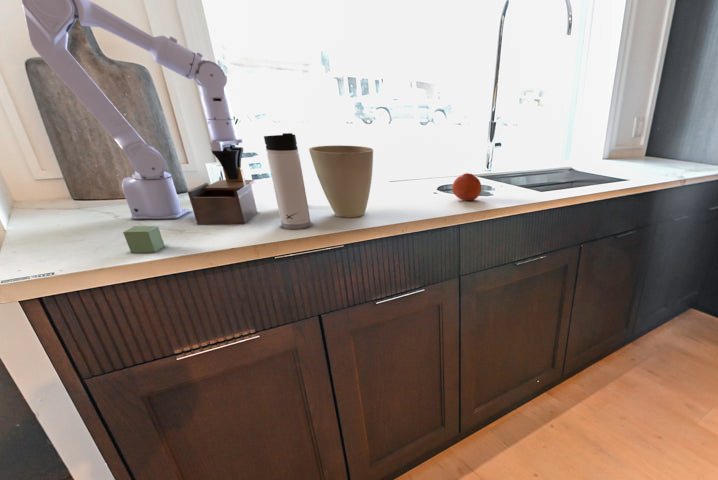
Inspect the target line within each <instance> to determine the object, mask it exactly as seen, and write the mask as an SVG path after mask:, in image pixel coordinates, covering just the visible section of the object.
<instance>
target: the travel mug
mask: <svg viewBox="0 0 718 480" xmlns="http://www.w3.org/2000/svg"><path fill="white" fill-rule="evenodd" d="M263 139H264V144H265V150H266V152H267V153H266V156H267V160H268V165H269V169H270V175H271V179H272V184H273V189H274V194H275V199H276V203H277V208H278V213H279V218H280V223H281V226H282V228H284V229H287V230H300V229H301V230H303V229H308V228H309V227H311V225H312V222H311V217H310V216H311V215H310V209H309V204H308V198H307V192H306V187H305V181H304V175H303V170H302V163H301V157H300V153H299V147H298V145H297V144H298V143H297V135H296V134H293V133H292V132H286V133H285V132H284V133H282V134H276V135H273V134H272V135H264V136H263Z"/></svg>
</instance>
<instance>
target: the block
mask: <svg viewBox="0 0 718 480" xmlns="http://www.w3.org/2000/svg"><path fill="white" fill-rule="evenodd" d="M122 234H123V236H124V239H125V241H126V244H127V246H128V249H129V251H130V253H131V254H145V253H157V252H158V251H159V250H162V249H163V248H164V247H165V243H164V240H163V237H162V234H161V231H160V229H159V226H158V225H142V226H141V225H139V226H138V225H135V226H132V227H129V228H128V229H126V230H123V232H122Z"/></svg>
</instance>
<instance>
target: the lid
mask: <svg viewBox="0 0 718 480" xmlns="http://www.w3.org/2000/svg"><path fill="white" fill-rule="evenodd" d="M222 171H223V174H224V175H223V176H224V179H219V180H217V181H215V182H213V183H211V184H209V186H207V187H205V188H204V189H205V190H238V189H239V188H241V187H243V186H244V185H246V184H247V183H251V186H252V185H253V184H255V183H256V181H255V179H245V175H244V171H243V167H242V166H241V167H238V179H229V178H228V177H227V175H226V173H225V171H224V169H223V168H222Z"/></svg>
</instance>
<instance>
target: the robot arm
mask: <svg viewBox="0 0 718 480" xmlns="http://www.w3.org/2000/svg"><path fill="white" fill-rule="evenodd" d="M20 2H21V7H22V11H23V14H24V19H25V24H26V28H27V33H28V39H29V43H30V45H31V46H32V48H33V49H34V51H35V52H36V53H37V54H38V55H39V56H40V58H41V59H42V60H43V62H45V63H46V64H47V65H48V66H49V68H50V69H51V70H52V71H53V72H54V74H56V75H57V77H58V78H59V79H60V80H61V81H62V82H63V84H65V86H66V87H67V88H68V89H69V90H70V91H71V92H72V94H73V95H74V96H75V97H76V98H77V99H78V100H79V102H80V103H81V104H82V105H83V106H84V107H85V108H86V109H87V111H89V113H90V114H91V115H92V116H93V117H94V118H95V120H96V121H98V123H99V124H100V125H101V126H102V127H103V128H104V130H105V131H106V132H107V133H108V134H109V135H110V136H111V137H112V139H113V140H114V141H115V142H116V143H117V145H118V146H119V148H120V149H121V150H122V151H123V152H124V153H125V155H126V156H127V158H128V160H129V165H130V166H131V168H132V169H133V170H134V172H133V173H132V174H131V176H128V177H124V178H123V180H122V182H121V188H122V193H123V195H124V199H125V201H126V203H127V206H128V208H129V212H130V215H131V216H130V219H131V220H151V219H152V220H158V219H159V220H160V219H162V220H165V219H166V220H167V219H168V220H169V219H170V220H171V219H178V218H180V217H182V216H184V215H185V214H188V213H189V212H190V209H189V208H183V207H182V206H181V203H180V199H179V196H178V193H177V190H176V186H175V183H174V180H173V177H172V174H171V173H169V172H167V171H166V169H167V163H166V159H165V158H164V157H163V155H162V154H161V152H159V150H158V149H157V148H155V147H154V146H152V145H150V144H148V143H147V142H146V141H145V140H144V139H143V138H142V137H141V135H140V134H139V133H138V132H137V131H136V130H135V128H134V127H133V126H132V125H131V124H130V123H129V121H128V120H127V119H126V118H125V117H124V116H123V114H122V113H121V112H120V111H119V109H118V108H117V107H116V106H115V105H114V103H113V102H112V101H111V100H110V99H109V98H108V97H107V96H106V95H105V93H104V92H103V90H102V89H101V88H100V87H99V86H98V84H96V82H95V81H94V80H93V78H92V77H90V75H89V73H87V71H86V70H85V69H84V68H83V67H82V66H81V64H80V63H79V62H78V61H77V60H76V58H75V57H74V56H73V55H72V54H71V52H69V50H68V43H69V42H68V40H69V32H70V30H71V29H72V27H73V26H74V24H75V23H76V21H77V19H78V21H79V25H80V26H81V27H91V28H92V27H94V28H100V29H103V30H105V31H106V32H109V33H111V34H112V35H115V36H117V37H119V38H121V39H123V40H125V41H126V42H128V43H131V44H132V45H135V46H137V47H139V48H141V49H142V50H145V51H146V52H149V54H150V55H151V57H152V59H153V61H154V62H155V63H157V64H158V65H161V66H163V67H164V68H167V69H169V70H170V71H171V72H175V73H176V74H178V75H180V76H182V77H184V78H187V79H188V80H192V79H193V81H194V82H195V83H196V84H197V85H198V89H199V93H200V100H201V104H202V108H203V113H204V116H205V119H206V123H207V128H208V131H209V135H210V148H211V153H212V155H214V157H215V158H216V159H217V160H218V163H219V164H220V165H221V167H222V170H223V169H224V171H225V173H226V175H227V177H228V178H229V179H238V167H241V168H242V157H243V154H244V153H243V152H244V147H243V146H241V144H244V143H245V139H243V138H240V137H239V136H238V132H237V128H236V124H235V119H234V115H233V110H232V106H231V102H230V98H229V97H228V92H227V88H226V85H227V83H228V82H227V81H228V77H227V75H225V72H224V70H223V69H222V68H221V66H220V65H218V63H215V62H214V61H211V60H205V59H203V58H204V54H202V53H201V52H197V53H195V52H194V51H192V50H190V49H189V48H187V47H185V46H183V45H182V44H179V43H178V39H177V38H174V37H173V36H169V37H167V36H165V35H157V36H153V35H151V34H149V33H147V32H145V31H144V30H142V29H140V28H138V27H137V26H135V25H133V24H131V23H130V22H128V21H126V20H125V19H123V18H121V17H119V16H118V15H116V14H114V13H112V12H110V11H109V10H107V9H105V8H103V7H102V6H100V5H99V4H97V3H95V2H93V1H91V0H21V1H20ZM239 146H240V147H239ZM224 171H223V172H224Z"/></svg>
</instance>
